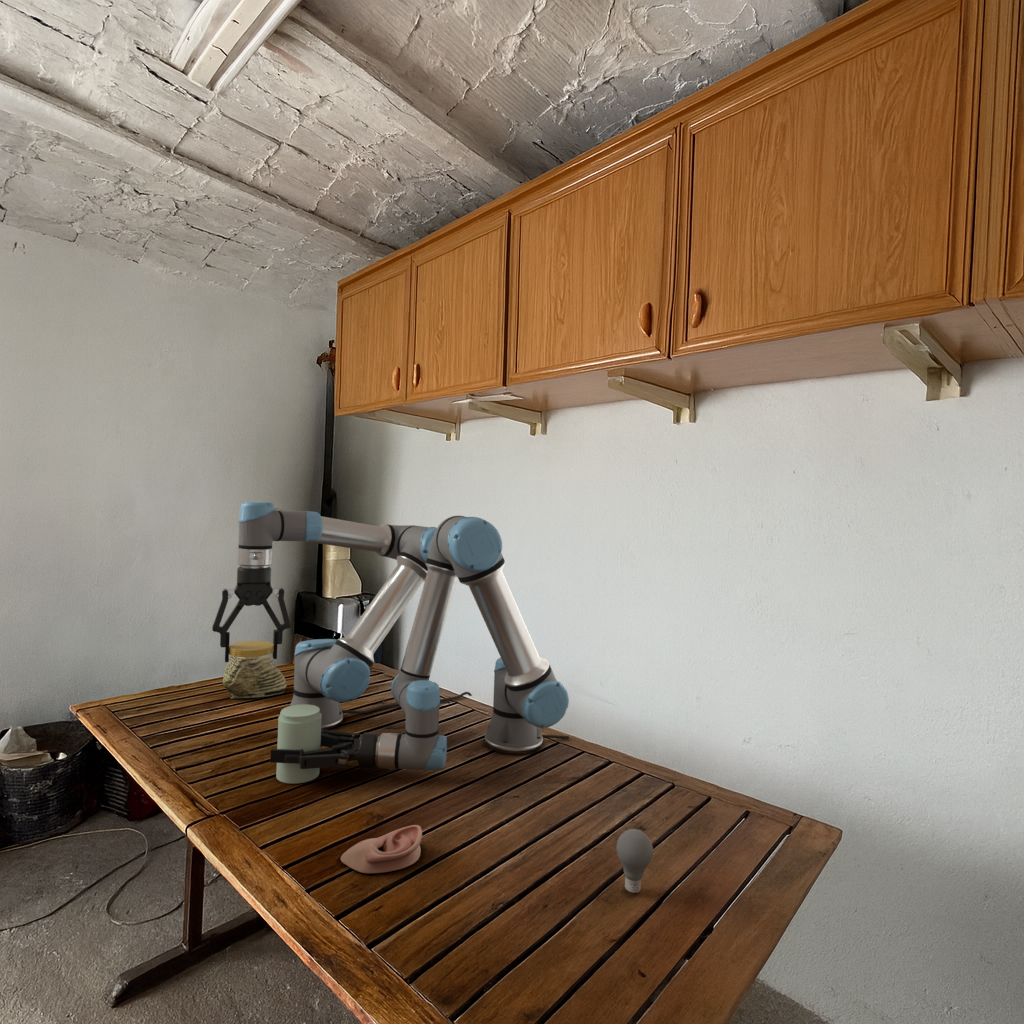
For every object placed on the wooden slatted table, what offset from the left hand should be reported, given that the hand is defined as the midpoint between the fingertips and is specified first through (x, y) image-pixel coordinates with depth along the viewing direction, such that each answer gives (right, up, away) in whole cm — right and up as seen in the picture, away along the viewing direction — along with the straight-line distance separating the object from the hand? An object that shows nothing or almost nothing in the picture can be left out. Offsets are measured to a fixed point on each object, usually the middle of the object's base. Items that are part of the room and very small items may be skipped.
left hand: (251, 659), depth 151 cm
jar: (+14, -25, -7) cm, 29 cm away
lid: (0, +3, 0) cm, 3 cm away
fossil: (-18, -22, +47) cm, 55 cm away
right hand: (+10, -18, -8) cm, 22 cm away
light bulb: (+82, -28, -46) cm, 98 cm away
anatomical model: (+39, -26, -39) cm, 61 cm away
